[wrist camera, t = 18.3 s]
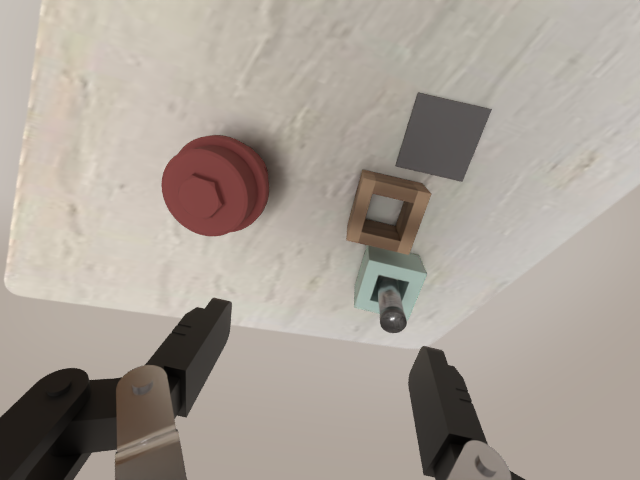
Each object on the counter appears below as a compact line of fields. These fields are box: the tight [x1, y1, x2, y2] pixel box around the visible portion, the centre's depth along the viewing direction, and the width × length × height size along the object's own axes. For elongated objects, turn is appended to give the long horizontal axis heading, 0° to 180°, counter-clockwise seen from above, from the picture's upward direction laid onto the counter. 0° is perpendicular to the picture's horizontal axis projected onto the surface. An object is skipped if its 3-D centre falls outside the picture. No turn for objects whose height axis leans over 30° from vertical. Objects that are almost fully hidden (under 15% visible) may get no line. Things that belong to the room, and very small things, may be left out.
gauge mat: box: [396, 93, 492, 182], centre depth 35 cm, size 8×8×1 cm
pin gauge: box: [376, 275, 407, 333], centre depth 37 cm, size 3×3×11 cm
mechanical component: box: [162, 135, 269, 236], centre depth 33 cm, size 12×10×10 cm
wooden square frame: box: [346, 170, 431, 255], centre depth 36 cm, size 7×7×5 cm
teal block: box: [354, 245, 427, 321], centre depth 40 cm, size 7×7×5 cm
